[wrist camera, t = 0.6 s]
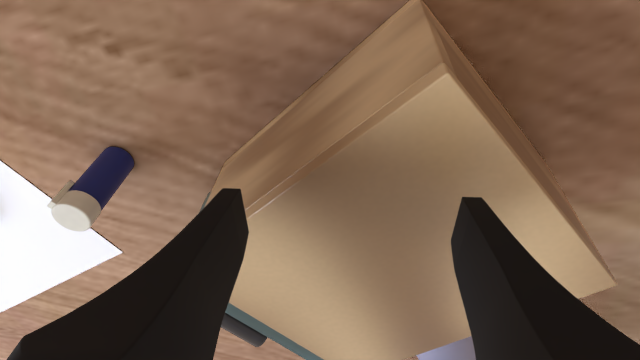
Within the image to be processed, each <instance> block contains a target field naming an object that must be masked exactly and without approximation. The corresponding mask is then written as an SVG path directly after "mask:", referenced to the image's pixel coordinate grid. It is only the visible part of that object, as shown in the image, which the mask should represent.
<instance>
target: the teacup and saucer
mask: <svg viewBox="0 0 640 360" xmlns="http://www.w3.org/2000/svg"><path fill="white" fill-rule="evenodd" d="M51 200H52V199H51V198H49V197H48V196H47V195H45V194H44V193H43V192H41V191H40V190H39V189H37V188H36V187H35V186H33V185H32V184H31V183H29V182H28V181H27V180H25V179H24V178H23V177H21V176H20V175H19V174H17V173H16V172H15V171H13V170H12V169H11V168H9V167H8V166H7V165H5V164H4V163H3V162H1V161H0V313H1V312H3V311H5V310H7V309H9V308H11V307H13V306H15V305H17V304H19V303H21V302H23V301H25V300H27V299H29V298H31V297H33V296H35V295H37V294H39V293H41V292H43V291H45V290H47V289H49V288H51V287H54V286H56V285H58V284H60V283H62V282H64V281H66V280H68V279H70V278H72V277H74V276H76V275H78V274H80V273H82V272H84V271H86V270H88V269H90V268H92V267H94V266H96V265H98V264H100V263H102V262H104V261H106V260H108V259H110V258H113V257H115V256H117V255H119V254H121V253H123V252H122V251H120V250H119V249H118V248H116V247H115V246H114V245H112V244H111V243H110V242H108V241H107V240H106V239H104V238H103V237H102V236H100V235H99V234H98V233H96V232H95V231H94V230H92V229H91V228H89V229H88V230H86V231H81V232H78V231H72V230H69V229H67V228H65V227H63V226H61V225H60V224H59V223H57V222H56V221H55V219H54V218H53V216H52V214H51V210H52V209H51V208H49V207H47V205H48V204H49V203H50V201H51Z"/></svg>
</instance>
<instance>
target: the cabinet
mask: <svg viewBox="0 0 640 360" xmlns="http://www.w3.org/2000/svg"><path fill="white" fill-rule="evenodd" d="M222 188H236V189H241V193H242V198H243V204H244V209H245V214H246V219H247V224H248V229H249V235H248V240H247V245H246V250H245V254H244V259H243V262H242V265H241V268H240V271H239V274H238V277H237V280H236V283H235V285H234V288H233V291H232V294H231V297H230V300H229V303H230V304H232V305H234V306H235V307H237V308H239V309H240V310H242V311H244V312H245V313H247V314H249V315H250V316H252V317H254V318H255V319H257V320H259V321H260V322H262V323H264V324H265V325H267V326H269V327H270V328H272V329H274V330H275V331H277V332H279V333H280V334H282V335H284V336H285V337H287V338H289V339H290V340H292V341H294V342H295V343H297V344H299V345H300V346H302V347H304V348H305V349H307V350H309V351H310V352H312V353H314V354H315V355H317V356H319V357H320V358H322V359H324V360H404V359H407V358H410V357H413V356H416V355H419V354H422V353H425V352H427V351H430V350H433V349H436V348H439V347H442V346H445V345H448V344H450V343H453V342H456V341H459V340H462V339H465V338H468V337H470V336H471V331H470V328H469V324H468V320H467V316H466V313H465V309H464V305H463V301H462V298H461V294H460V290H459V286H458V282H457V279H456V275H455V271H454V264H453V257H452V249H451V237H452V233H453V230H454V226H455V222H456V218H457V214H458V210H459V206H460V203H461V199H462V197H482V198H483V199H484V200H485V202H486V203H487V204H488V205H489V207H490V208H491V209H492V210H493V212H494V213H495V214H496V215H497V216H498V218H499V219H500V220H501V221H502V223H503V224H504V225H505V226H506V227H507V229H508V230H509V231H510V232H511V233H512V234H513V236H514V237H515V238H516V239H517V240H518V241H519V242H520V243H521V245H522V246H523V247H524V248H525V249H526V250H527V251H528V252H529V253H530V255H531V256H532V257H533V258H534V259H535V260H536V261H537V262H538V263H539V264H540V265H541V266H542V267H543V268H544V269H545V270H546V271H547V272H548V273H549V274H550V275H551V276H552V277H553V278H554V279H556V280H557V281H558V282H559V283H560V284H561V285H562V286H563V287H565V288H566V289H567V290H568V291H569V292H570V293H571V294H573V295H574V296H575V297H576V298H577V299H579V298H582V297H585V296H588V295H591V294H594V293H597V292H600V291H602V290H605V289H608V288H611V287H614V286H617V282H616V280H615V279H614V277H613V275H612V274H611V272H610V270H609V269H608V267H607V265H606V264H605V262H604V260H603V259H602V257H601V255H600V254H599V252H598V250H597V248H596V247H595V245H594V243H593V242H592V240H591V238H590V237H589V235H588V233H587V232H586V230H585V228H584V227H583V225H582V223H581V221H580V220H579V218H578V216H577V215H576V213H575V211H574V210H573V208H572V206H571V205H570V203H569V201H568V200H567V198H566V196H565V194H564V193H563V191H562V189H561V188H560V186H559V184H558V183H557V181H556V179H555V178H554V176H553V174H552V173H551V171H550V169H549V167H548V166H547V164H546V163H545V161H544V160H543V159H542V157H541V156H540V155H539V153H538V152H537V151H536V149H535V148H534V147H533V145H532V144H531V143H530V141H529V140H528V139H527V137H526V136H525V135H524V133H523V132H522V131H521V130H520V128H519V127H518V126H517V124H516V123H515V122H514V120H513V119H512V118H511V116H510V115H509V114H508V112H507V111H506V110H505V108H504V107H503V106H502V104H501V103H500V102H499V100H498V99H497V98H496V97H495V95H494V94H493V93H492V91H491V90H490V89H489V87H488V86H487V85H486V83H485V82H484V81H483V79H482V78H481V77H480V75H479V74H478V73H477V71H476V70H475V69H474V67H473V66H472V65H471V64H470V62H469V61H468V60H467V58H466V57H465V56H464V54H463V53H462V52H461V50H460V49H459V48H458V46H457V45H456V44H455V42H454V41H453V40H452V38H451V37H450V36H449V34H448V33H447V32H446V31H445V29H444V28H443V27H442V25H441V24H440V23H439V21H438V20H437V19H436V17H435V16H434V15H433V13H432V12H431V11H430V9H429V8H428V7H427V5H426V4H425V3H424V1H423V0H410V1H408V2H407V3H406V4H405V5H404V6H403V7H402V8H400V9H399V10H398V11H397V12H396V13H395V14H394V15H392V16H391V17H390V18H389V19H388V20H387V21H386V22H384V23H383V24H382V25H381V26H380V27H379V28H377V29H376V30H375V31H374V32H373V33H372V34H371V35H369V36H368V37H367V38H366V39H365V40H364V41H363V42H361V43H360V44H359V45H358V46H357V47H356V48H355V49H353V50H352V51H351V52H350V53H349V54H348V55H347V56H345V57H344V58H343V59H342V60H341V61H340V62H339V63H337V64H336V65H335V66H334V67H333V68H332V69H331V70H329V71H328V72H327V73H326V74H325V75H324V76H323V77H321V78H320V79H319V80H318V81H317V82H316V83H315V84H313V85H312V86H311V87H310V88H309V89H308V90H307V91H305V92H304V93H303V94H302V95H301V96H300V97H299V98H297V99H296V100H295V101H294V102H293V103H292V104H290V105H289V106H288V107H287V108H286V109H285V110H284V111H282V112H281V113H280V114H279V115H278V116H277V117H276V118H274V119H273V120H272V121H271V122H270V123H269V124H268V125H266V126H265V127H264V128H263V129H262V130H261V131H260V132H258V133H257V134H256V135H255V136H254V137H253V138H252V139H250V140H249V141H248V142H247V143H246V144H245V145H244V146H242V147H241V148H240V149H239V150H238V151H237V152H236V153H234V154H233V155H232V156H231V157H230V158H229V159H228V160H226V161H225V163H224V165H223V167H222V169H221V171H220V174H219V176H218V178H217V180H216V182H215V185H214V187H213V189H212V191H211V193H210V196H209V198H208V200H207V202H206V204H205V206H206V205H207V204H208V203H209V202H210V201H211V200H212V199H213V198H214V197H215V195H216V194H217V193H218V192H219V191H220V190H221V189H222Z"/></svg>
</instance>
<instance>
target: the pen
mask: <svg viewBox="0 0 640 360" xmlns="http://www.w3.org/2000/svg"><path fill="white" fill-rule="evenodd" d="M133 167H134V160H133V158H132V157H131V155H130V154H129V153H128V152H127V151H125V150H123V149H121V148H118V147H108V148H106V149H105V150H104V151H103V152H102V153H101V154H100V155H99V157H98V158H97V159H96V160H95V161H94V162H93V163H92V164H91V166H90V167H89V168H88V169H87V170H86V171H85V172H84V174H83V175H82V176H81V177H80V178H79V179H78V180H77V181H76V183H74V182H73V181H71V180H69V181H68V183H67V184H66V185H65V186H64V187H63V188H62V189H61V190H60V191H59V193H58V194H57V195H56V196H55V197H54V198H53V199H52V200H51V201H50V203H49V204H48V205H47V207H49V208H51V209H52V210H51V214H52V216H53V218H54V219H55V221H56V222H57V223H59V224H60V225H61V226H63V227H65V228H67V229H69V230H72V231H78V232H81V231H86V230H88V229H89V228H90V227H91V226H92V224H93V223H94V222H95V220H96V219H97V217H98V216H99V215H100V213H101V210H102V209H103V208H104V206H105V205H106V204H107V202H108V201H109V200H110V198H111V197H112V196H113V194H114V193H115V192H116V190H117V189H118V188H119V186H120V185H121V183H122V182H123V181H124V179H125V178H126V177H127V175H128V174H129V173H130V171H131V170H132V169H133Z"/></svg>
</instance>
